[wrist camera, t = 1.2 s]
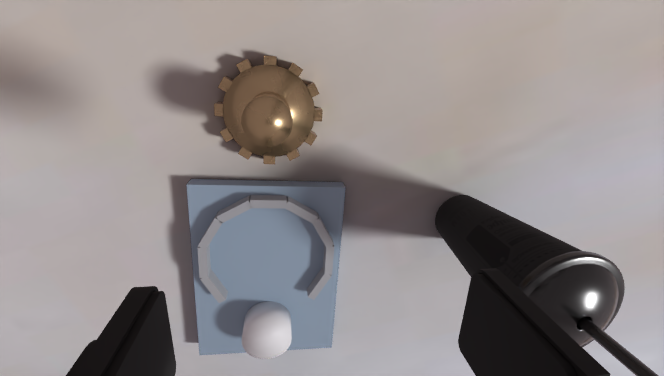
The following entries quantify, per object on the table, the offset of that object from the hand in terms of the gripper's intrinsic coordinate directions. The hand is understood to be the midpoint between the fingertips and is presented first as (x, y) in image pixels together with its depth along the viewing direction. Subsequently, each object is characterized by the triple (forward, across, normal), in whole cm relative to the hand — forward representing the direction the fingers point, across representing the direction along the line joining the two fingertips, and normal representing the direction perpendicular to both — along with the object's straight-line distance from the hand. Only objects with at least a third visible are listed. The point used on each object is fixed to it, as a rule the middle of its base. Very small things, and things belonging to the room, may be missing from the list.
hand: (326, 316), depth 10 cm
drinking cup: (+20, -16, +6) cm, 27 cm away
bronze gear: (+20, +2, -4) cm, 20 cm away
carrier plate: (+20, +3, +11) cm, 23 cm away
